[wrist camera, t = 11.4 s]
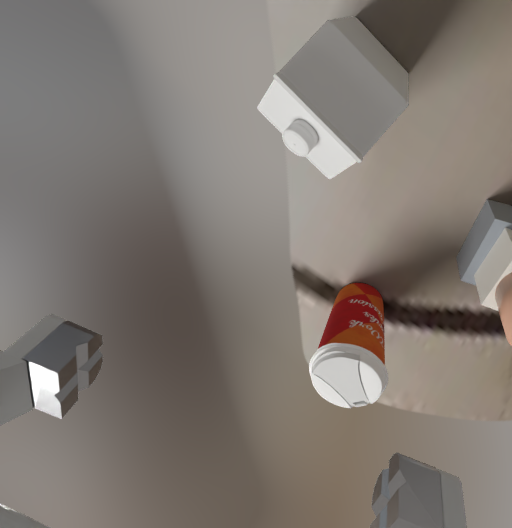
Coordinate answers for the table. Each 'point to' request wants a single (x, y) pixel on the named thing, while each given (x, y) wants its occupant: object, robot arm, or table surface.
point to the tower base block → (483, 238)
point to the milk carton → (336, 96)
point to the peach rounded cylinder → (505, 304)
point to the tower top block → (494, 269)
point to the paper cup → (352, 349)
